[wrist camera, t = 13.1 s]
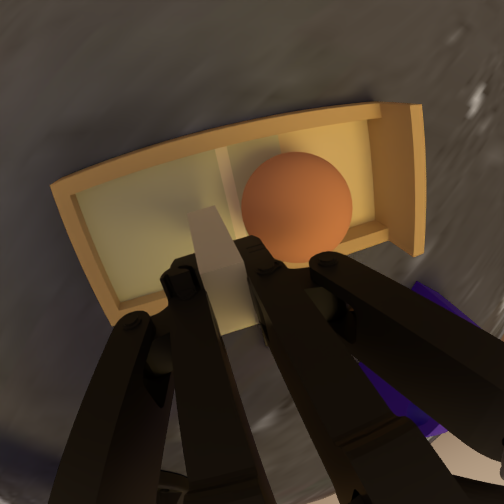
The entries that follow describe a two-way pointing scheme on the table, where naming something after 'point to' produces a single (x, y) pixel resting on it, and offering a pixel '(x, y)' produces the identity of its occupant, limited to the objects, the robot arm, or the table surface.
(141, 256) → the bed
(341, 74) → the table surface
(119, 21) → the table surface
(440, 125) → the table surface
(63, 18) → the table surface
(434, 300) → the bracket
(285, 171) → the ball
